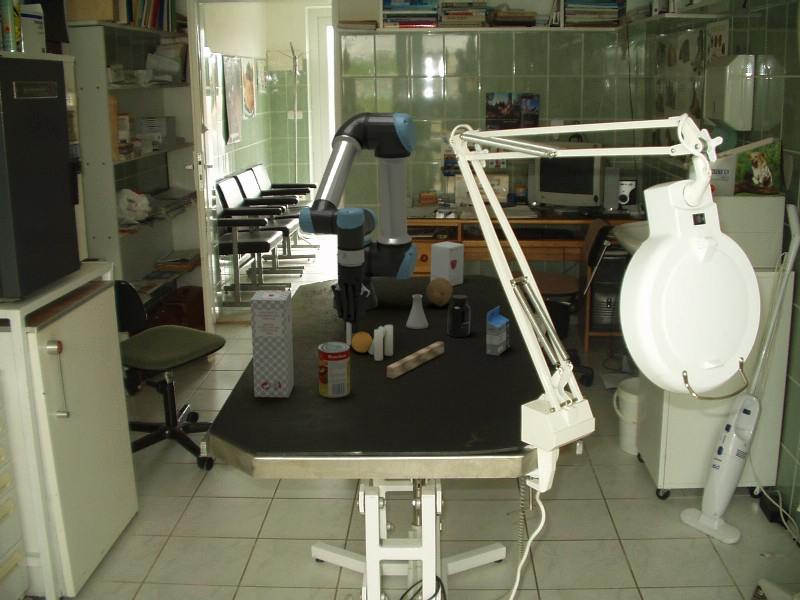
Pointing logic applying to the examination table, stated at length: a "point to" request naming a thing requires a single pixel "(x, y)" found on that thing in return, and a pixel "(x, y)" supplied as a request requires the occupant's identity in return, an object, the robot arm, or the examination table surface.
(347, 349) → the canned food
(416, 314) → the flask
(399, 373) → the wooden bar
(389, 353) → the pin
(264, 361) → the box
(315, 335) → the examination table surface
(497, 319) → the label tape box
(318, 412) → the examination table surface
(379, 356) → the pin
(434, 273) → the supplement box
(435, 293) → the natural sponge
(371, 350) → the front pin
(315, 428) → the examination table surface
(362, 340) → the ball
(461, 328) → the supplement bottle
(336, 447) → the examination table surface
